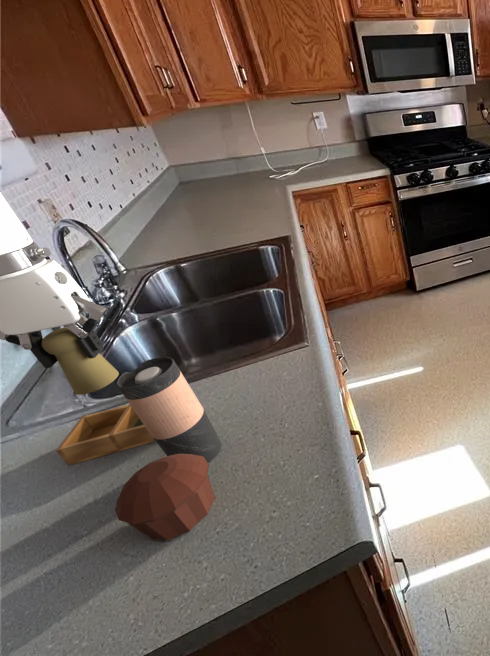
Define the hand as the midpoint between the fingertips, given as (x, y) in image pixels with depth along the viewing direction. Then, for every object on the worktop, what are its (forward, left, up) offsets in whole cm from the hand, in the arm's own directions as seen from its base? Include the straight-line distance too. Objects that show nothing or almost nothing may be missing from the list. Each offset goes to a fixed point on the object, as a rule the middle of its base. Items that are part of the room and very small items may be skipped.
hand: (75, 357), depth 69 cm
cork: (0, 0, -6) cm, 6 cm away
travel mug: (+12, -8, -22) cm, 26 cm away
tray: (-3, +4, -21) cm, 22 cm away
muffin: (+13, -20, -22) cm, 32 cm away
